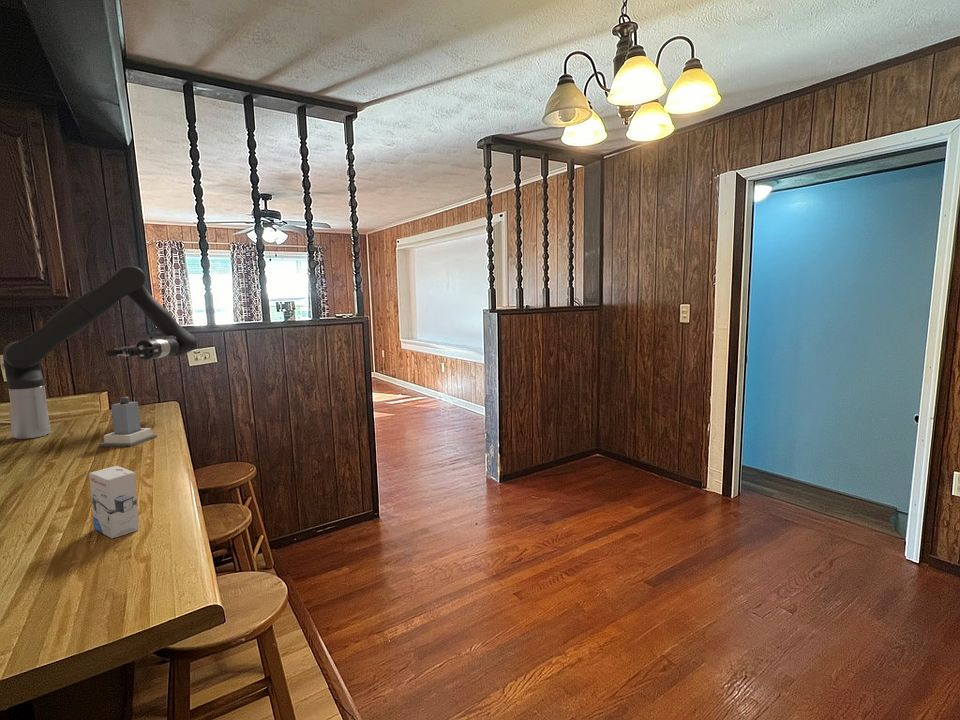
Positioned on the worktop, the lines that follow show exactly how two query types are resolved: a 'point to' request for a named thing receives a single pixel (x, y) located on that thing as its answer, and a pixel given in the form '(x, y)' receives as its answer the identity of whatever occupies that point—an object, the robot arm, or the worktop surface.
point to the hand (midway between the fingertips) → (118, 353)
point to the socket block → (127, 438)
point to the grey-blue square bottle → (126, 417)
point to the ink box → (114, 501)
